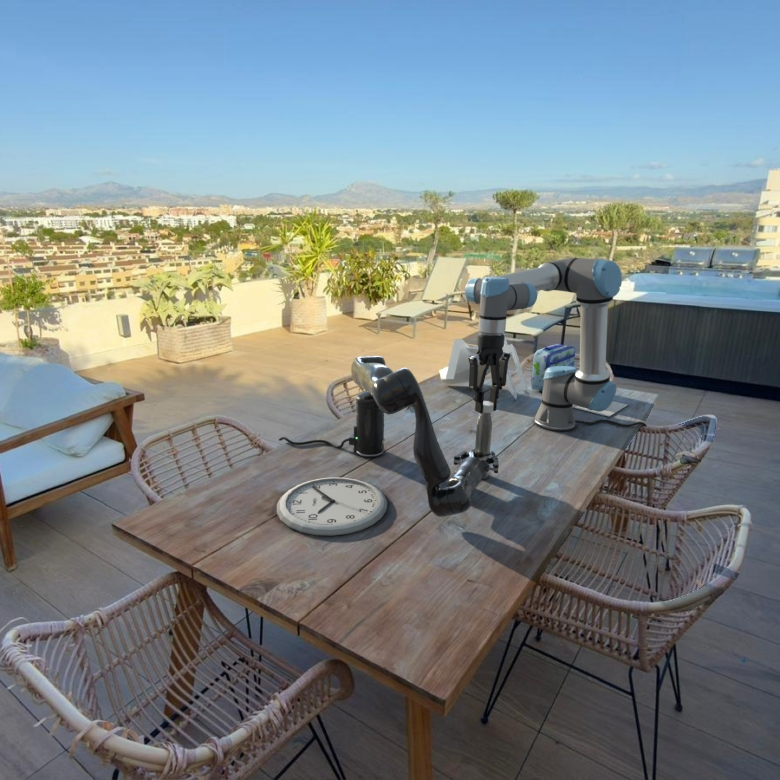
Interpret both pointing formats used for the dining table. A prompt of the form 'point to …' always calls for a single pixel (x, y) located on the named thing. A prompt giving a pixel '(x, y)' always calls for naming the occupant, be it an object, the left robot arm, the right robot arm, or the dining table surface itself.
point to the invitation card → (609, 411)
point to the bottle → (483, 436)
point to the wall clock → (331, 506)
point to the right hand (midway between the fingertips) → (485, 410)
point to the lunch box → (550, 362)
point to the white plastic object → (461, 367)
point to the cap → (487, 407)
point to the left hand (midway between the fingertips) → (484, 452)
